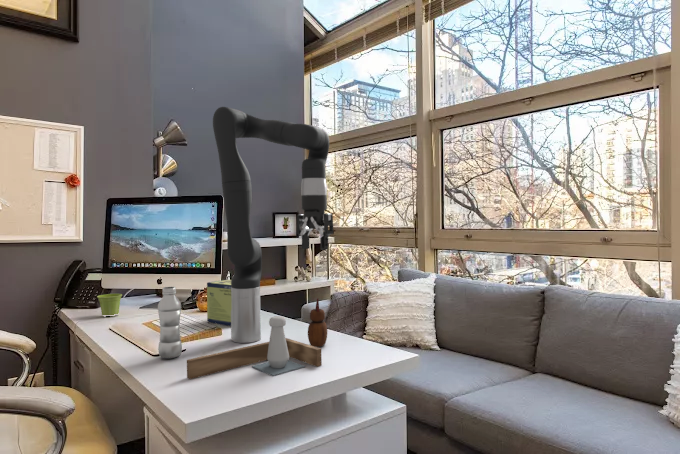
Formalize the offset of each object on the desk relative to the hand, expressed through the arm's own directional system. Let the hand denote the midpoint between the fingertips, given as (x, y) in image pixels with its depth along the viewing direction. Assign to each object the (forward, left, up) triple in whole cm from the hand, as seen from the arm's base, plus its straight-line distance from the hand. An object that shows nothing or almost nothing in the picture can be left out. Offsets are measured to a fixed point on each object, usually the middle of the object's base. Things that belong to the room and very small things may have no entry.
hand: (314, 249), depth 136 cm
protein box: (-54, +2, -30) cm, 62 cm away
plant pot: (-101, -28, -30) cm, 109 cm away
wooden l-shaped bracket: (+4, -23, -30) cm, 38 cm away
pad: (+5, -17, -30) cm, 35 cm away
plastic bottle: (-24, -34, -30) cm, 51 cm away
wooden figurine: (-4, +4, -30) cm, 31 cm away
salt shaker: (+5, -17, -30) cm, 35 cm away
